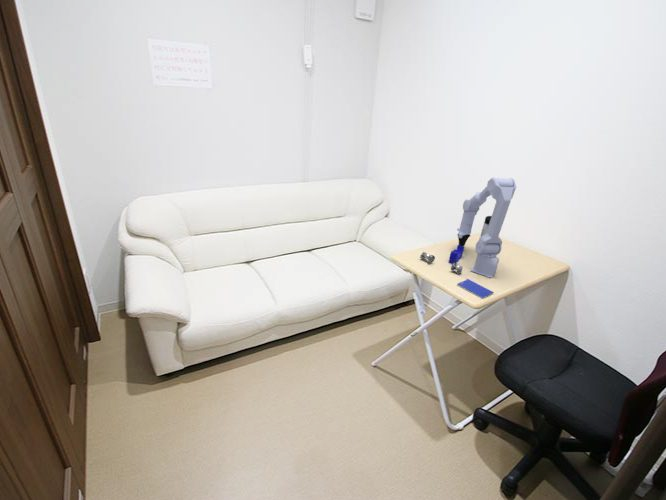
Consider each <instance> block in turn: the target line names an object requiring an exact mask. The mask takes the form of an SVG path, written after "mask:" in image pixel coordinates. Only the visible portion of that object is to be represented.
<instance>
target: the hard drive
mask: <svg viewBox="0 0 666 500" xmlns="http://www.w3.org/2000/svg"><path fill="white" fill-rule="evenodd" d="M456 286H457V287H459V288H461V289H463V290H465V291H467V292H468V293H471V294H472V295H475V296H476V297H478V298H480V299H483V300H484V299H486V298H488V297H490V296H492V295H494V293H495V292H494V291H493V290H490V289H488V288H486V287H485V286H482V285H481V284H478V283H477V282H476V281H473V280H471V279H468V278H467V279H465V280H463V281H461V282H458V283H457V285H456Z"/></svg>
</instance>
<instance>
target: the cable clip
mask: <svg viewBox="0 0 666 500" xmlns="http://www.w3.org/2000/svg"><path fill="white" fill-rule="evenodd" d="M464 250H465V246H464V247H463V246H460V245H459V244H458V245H457V247H456V249H453V250H451V252H450V254H449V258H448V264H451V265H452V264H453V263H456V264H457V263H458V262H459V260H460V259H462V257H463V253H464Z"/></svg>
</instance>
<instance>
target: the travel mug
mask: <svg viewBox="0 0 666 500" xmlns="http://www.w3.org/2000/svg"><path fill="white" fill-rule="evenodd" d="M491 217H492V215H488V216H487V215H486V216H485V218H484V222H483V225H482V229H481V234H480V236H479V238H480V237H481V236H483V235H484V234H486V232H487V229H488V226H489V223H490V220H491Z"/></svg>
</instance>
